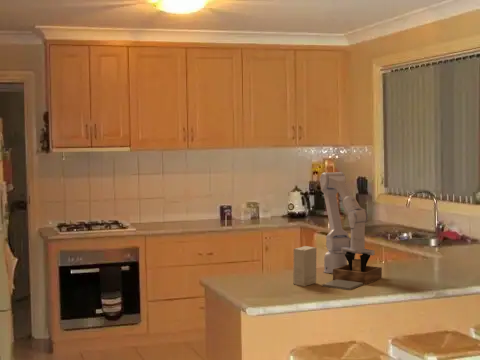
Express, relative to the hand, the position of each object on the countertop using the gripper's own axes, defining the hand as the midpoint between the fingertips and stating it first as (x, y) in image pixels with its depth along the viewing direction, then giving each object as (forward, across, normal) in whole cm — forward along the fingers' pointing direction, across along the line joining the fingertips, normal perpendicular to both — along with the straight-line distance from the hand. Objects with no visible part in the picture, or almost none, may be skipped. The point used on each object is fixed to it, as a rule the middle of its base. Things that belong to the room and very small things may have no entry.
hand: (357, 270), depth 306 cm
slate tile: (+3, +1, -15) cm, 15 cm away
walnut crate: (+3, 0, 0) cm, 3 cm away
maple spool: (+1, 0, 0) cm, 1 cm away
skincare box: (+4, -13, -21) cm, 25 cm away
